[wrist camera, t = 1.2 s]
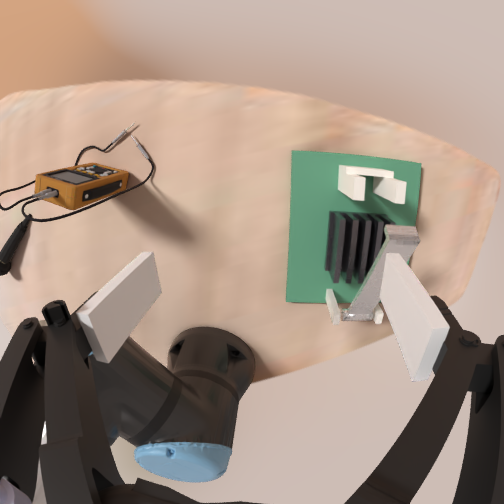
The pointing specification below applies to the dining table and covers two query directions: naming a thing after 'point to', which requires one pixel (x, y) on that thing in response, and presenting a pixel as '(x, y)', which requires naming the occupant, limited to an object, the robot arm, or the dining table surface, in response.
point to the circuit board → (340, 199)
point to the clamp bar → (381, 272)
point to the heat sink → (353, 243)
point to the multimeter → (79, 185)
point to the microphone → (11, 246)
